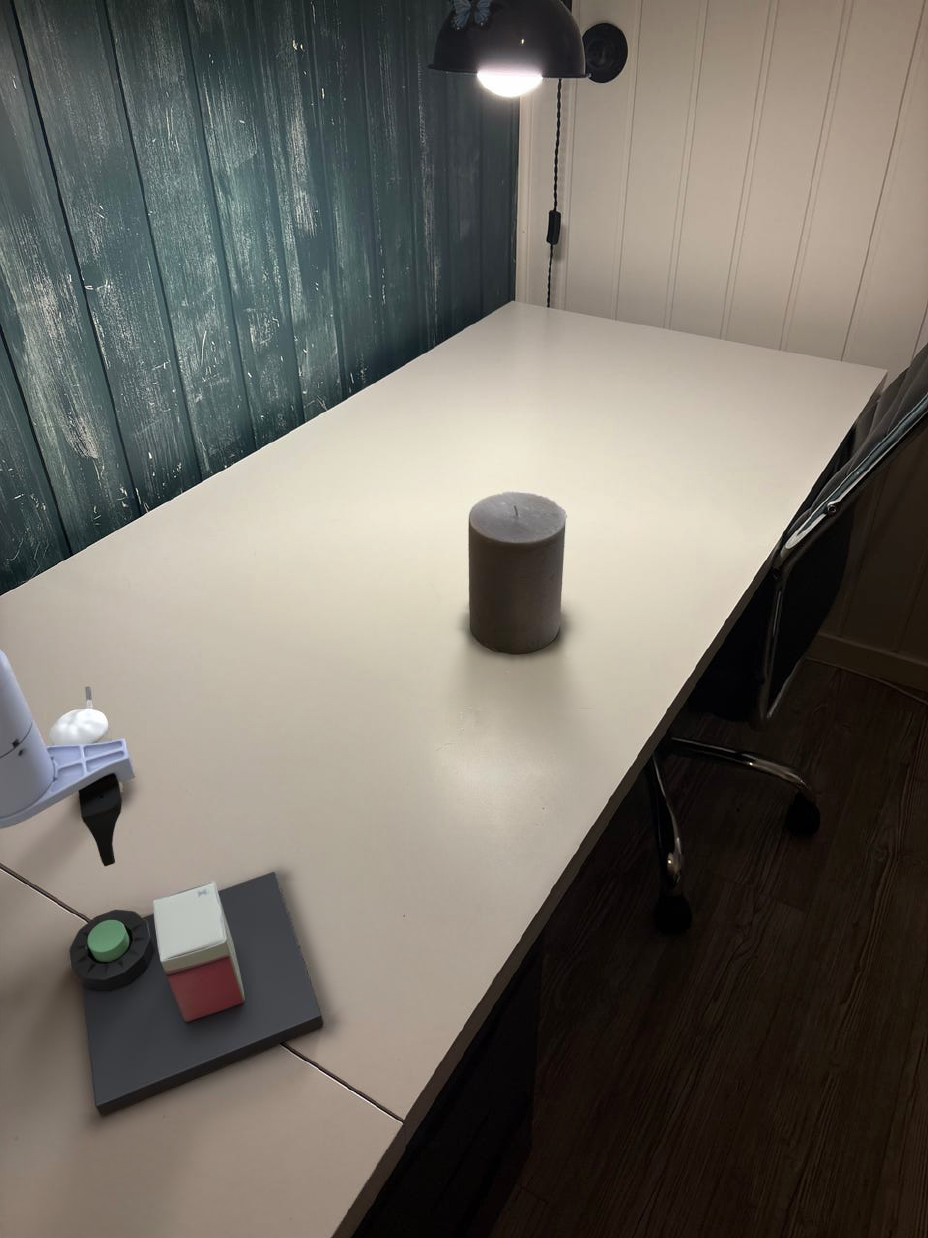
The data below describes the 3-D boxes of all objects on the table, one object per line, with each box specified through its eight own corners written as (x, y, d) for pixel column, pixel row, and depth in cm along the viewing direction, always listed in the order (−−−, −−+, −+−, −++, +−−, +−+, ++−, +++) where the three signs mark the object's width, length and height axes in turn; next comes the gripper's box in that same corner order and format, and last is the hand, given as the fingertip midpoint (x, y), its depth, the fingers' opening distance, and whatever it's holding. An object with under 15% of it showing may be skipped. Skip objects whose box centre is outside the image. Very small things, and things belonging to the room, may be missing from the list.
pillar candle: (484, 661, 94) (483, 539, 84) (459, 605, 101) (456, 487, 92) (573, 644, 96) (583, 522, 86) (542, 590, 103) (548, 472, 93)
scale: (96, 1118, 59) (84, 1097, 57) (78, 948, 69) (66, 926, 67) (323, 1026, 64) (319, 1003, 62) (276, 879, 73) (271, 855, 72)
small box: (175, 962, 66) (150, 898, 61) (234, 943, 67) (214, 878, 63) (184, 1026, 63) (158, 963, 58) (247, 1004, 64) (227, 940, 59)
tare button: (94, 968, 65) (89, 957, 64) (90, 937, 67) (85, 927, 66) (132, 954, 66) (127, 944, 65) (127, 925, 67) (122, 914, 67)
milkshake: (142, 769, 83) (114, 688, 77) (119, 816, 79) (87, 734, 72) (94, 766, 83) (62, 685, 77) (68, 812, 79) (32, 730, 73)
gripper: (101, 658, 59) (149, 797, 67) (-152, 724, 55) (-66, 864, 63) (114, 730, 54) (165, 871, 62) (-163, 809, 49) (-68, 949, 58)
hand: (50, 873), depth 62 cm, fingers open, 7 cm apart
